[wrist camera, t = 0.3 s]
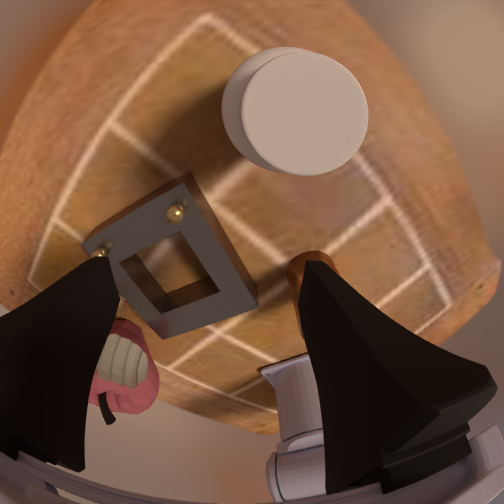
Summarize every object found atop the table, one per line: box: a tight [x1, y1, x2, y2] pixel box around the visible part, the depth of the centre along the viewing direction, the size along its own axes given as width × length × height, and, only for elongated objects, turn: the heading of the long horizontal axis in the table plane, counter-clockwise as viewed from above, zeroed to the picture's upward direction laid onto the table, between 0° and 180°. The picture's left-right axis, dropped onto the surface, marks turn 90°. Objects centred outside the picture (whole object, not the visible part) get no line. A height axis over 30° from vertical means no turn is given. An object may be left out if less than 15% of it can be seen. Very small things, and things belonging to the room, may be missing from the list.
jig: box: [82, 172, 259, 340], centre depth 19 cm, size 11×9×4 cm
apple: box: [88, 320, 159, 425], centre depth 21 cm, size 10×9×10 cm
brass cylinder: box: [286, 251, 340, 339], centre depth 20 cm, size 4×4×6 cm
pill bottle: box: [221, 47, 368, 176], centre depth 11 cm, size 5×5×10 cm
